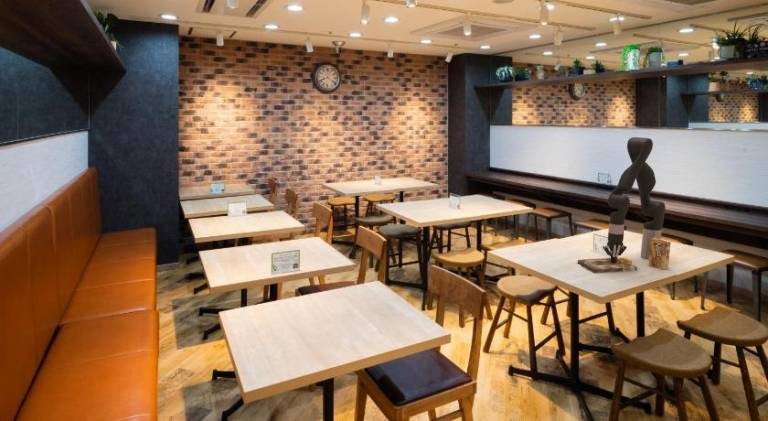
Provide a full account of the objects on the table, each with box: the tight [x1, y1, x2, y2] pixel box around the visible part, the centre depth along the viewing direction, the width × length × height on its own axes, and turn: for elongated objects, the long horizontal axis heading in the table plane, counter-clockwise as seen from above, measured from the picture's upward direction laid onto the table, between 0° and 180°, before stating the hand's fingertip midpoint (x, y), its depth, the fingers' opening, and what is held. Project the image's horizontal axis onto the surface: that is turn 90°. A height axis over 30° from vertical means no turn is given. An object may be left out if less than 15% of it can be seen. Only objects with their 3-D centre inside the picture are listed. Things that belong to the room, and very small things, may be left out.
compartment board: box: [577, 257, 638, 274], centre depth 263 cm, size 24×17×4 cm
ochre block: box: [616, 256, 633, 267], centre depth 260 cm, size 6×6×3 cm
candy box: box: [647, 238, 672, 270], centre depth 260 cm, size 9×4×15 cm, turn 34°
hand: (613, 263), depth 259 cm, fingers closed
